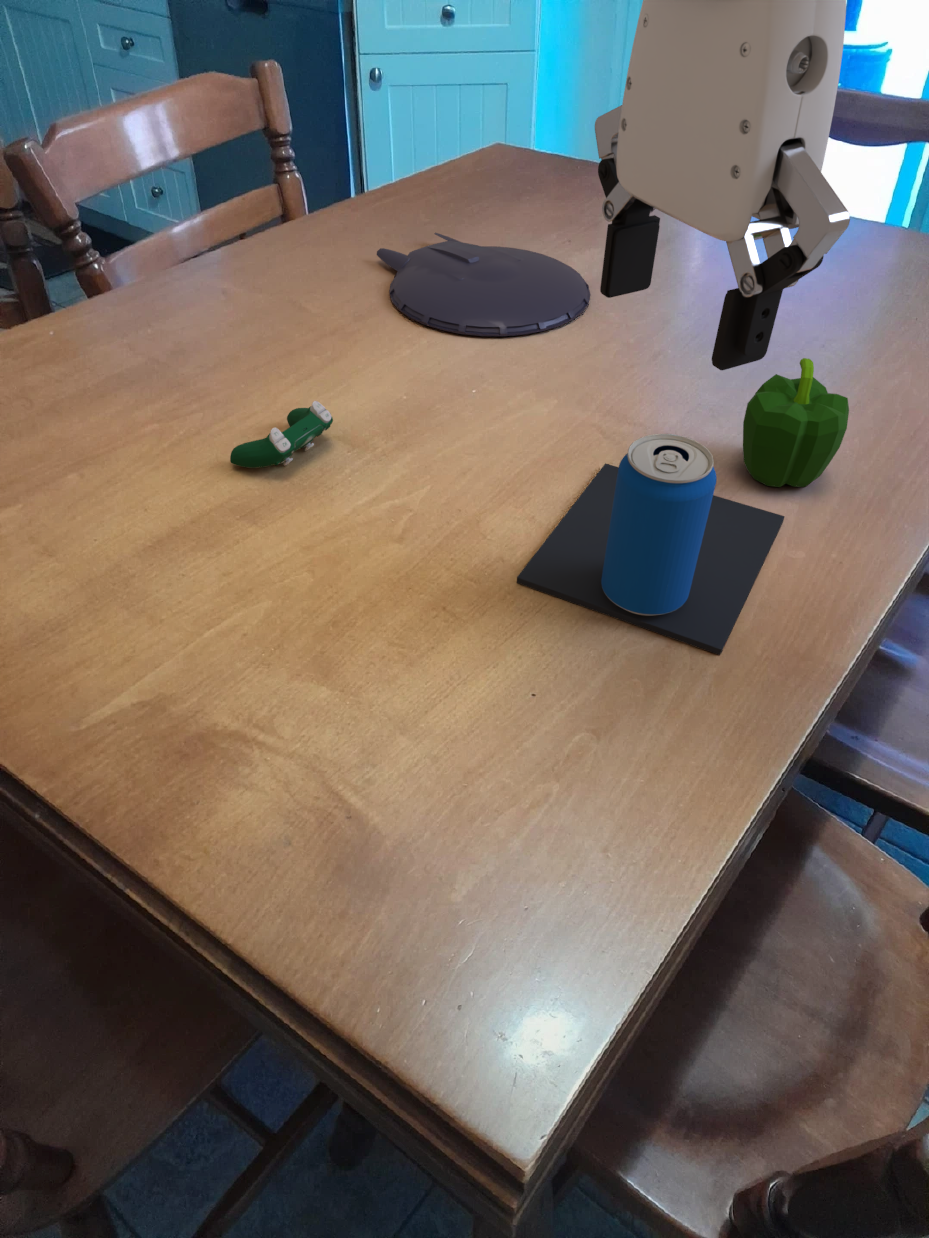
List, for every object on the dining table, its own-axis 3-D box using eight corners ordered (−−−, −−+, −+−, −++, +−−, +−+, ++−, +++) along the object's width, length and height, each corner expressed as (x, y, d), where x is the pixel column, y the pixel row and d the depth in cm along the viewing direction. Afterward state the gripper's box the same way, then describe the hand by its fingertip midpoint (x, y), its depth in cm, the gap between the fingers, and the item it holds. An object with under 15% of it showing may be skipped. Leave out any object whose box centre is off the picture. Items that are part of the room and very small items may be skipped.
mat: (783, 521, 75) (784, 516, 75) (719, 655, 63) (721, 649, 63) (604, 468, 81) (605, 463, 80) (516, 583, 69) (516, 577, 68)
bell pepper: (811, 512, 76) (847, 407, 69) (719, 481, 79) (744, 378, 72) (839, 466, 81) (875, 364, 74) (751, 439, 84) (778, 339, 78)
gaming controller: (250, 491, 80) (281, 466, 76) (222, 456, 79) (252, 429, 75) (316, 445, 86) (348, 419, 81) (291, 412, 85) (322, 384, 81)
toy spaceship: (331, 275, 111) (328, 249, 109) (479, 232, 122) (479, 207, 120) (478, 359, 95) (479, 330, 93) (632, 300, 107) (636, 273, 104)
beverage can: (692, 575, 69) (725, 439, 61) (681, 631, 64) (715, 492, 56) (608, 558, 70) (630, 423, 62) (592, 611, 66) (612, 473, 57)
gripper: (985, -43, 33) (846, 378, 45) (687, -90, 44) (637, 258, 56) (839, -31, 31) (730, 414, 42) (560, -84, 42) (535, 280, 53)
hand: (677, 325), depth 49 cm, fingers open, 9 cm apart
